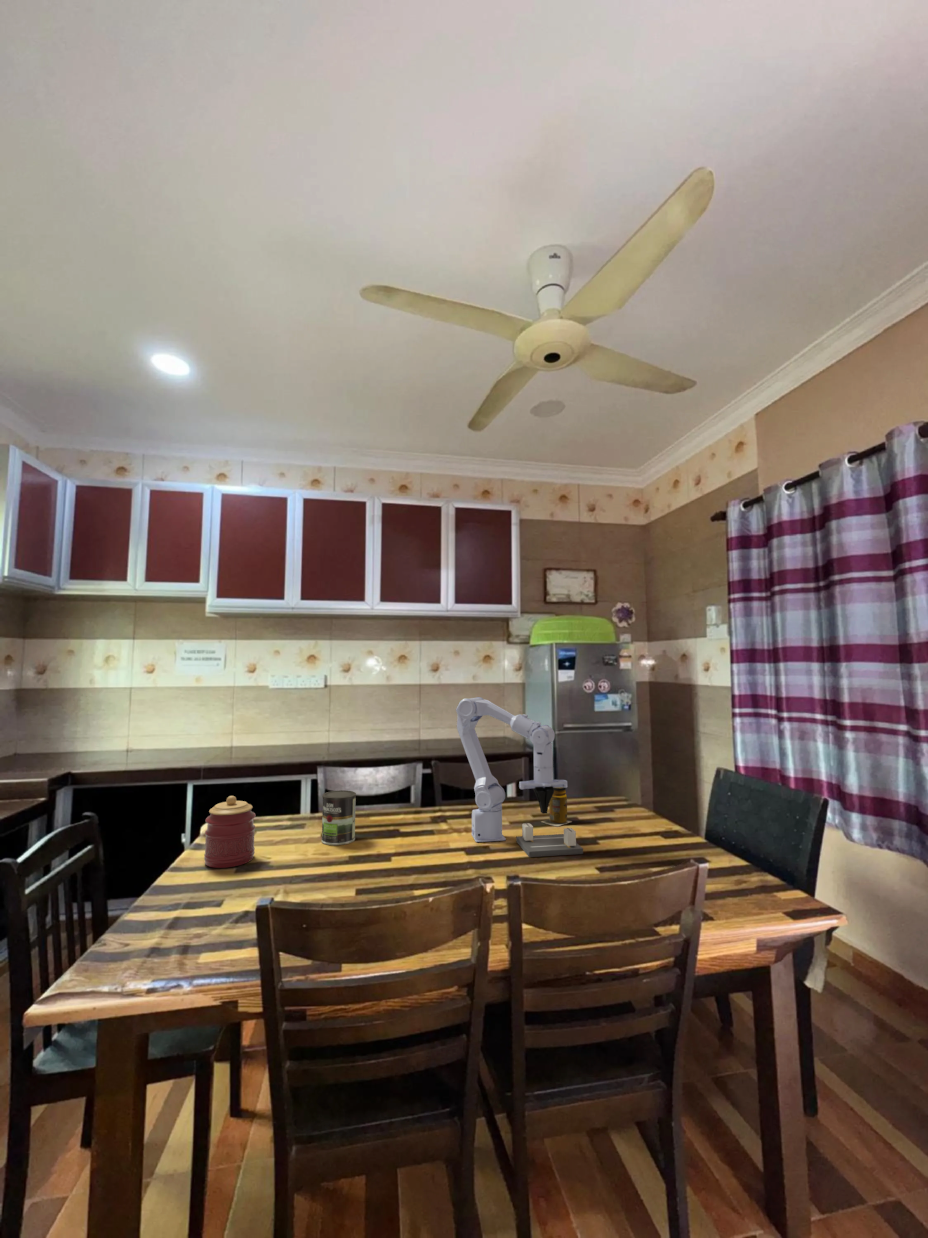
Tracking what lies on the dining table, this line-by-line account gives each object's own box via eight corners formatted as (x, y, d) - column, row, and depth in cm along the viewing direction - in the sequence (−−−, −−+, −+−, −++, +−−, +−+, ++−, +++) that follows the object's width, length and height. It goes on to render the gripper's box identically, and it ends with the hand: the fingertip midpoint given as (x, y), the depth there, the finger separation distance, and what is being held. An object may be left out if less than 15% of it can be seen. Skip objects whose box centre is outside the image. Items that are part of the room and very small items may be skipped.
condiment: (572, 822, 191) (571, 786, 192) (557, 827, 185) (557, 790, 186) (555, 818, 197) (554, 783, 198) (540, 822, 191) (540, 787, 192)
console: (529, 857, 156) (529, 851, 157) (516, 841, 170) (516, 836, 170) (583, 854, 159) (582, 848, 159) (566, 838, 173) (566, 833, 173)
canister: (243, 849, 164) (244, 788, 165) (262, 860, 155) (264, 795, 156) (196, 860, 155) (199, 796, 156) (214, 873, 146) (216, 804, 147)
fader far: (525, 840, 165) (525, 826, 166) (522, 837, 169) (522, 823, 169) (533, 840, 166) (533, 826, 166) (529, 836, 169) (529, 823, 170)
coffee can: (343, 847, 166) (343, 799, 167) (314, 843, 169) (315, 796, 171) (361, 837, 175) (362, 791, 176) (334, 833, 179) (335, 789, 180)
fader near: (568, 846, 160) (567, 831, 161) (563, 842, 164) (563, 828, 164) (576, 845, 161) (575, 831, 161) (571, 842, 164) (571, 827, 164)
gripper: (523, 769, 162) (524, 817, 161) (570, 768, 165) (571, 815, 164) (517, 765, 169) (517, 811, 168) (562, 764, 172) (563, 809, 170)
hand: (543, 812), depth 166 cm, fingers closed
